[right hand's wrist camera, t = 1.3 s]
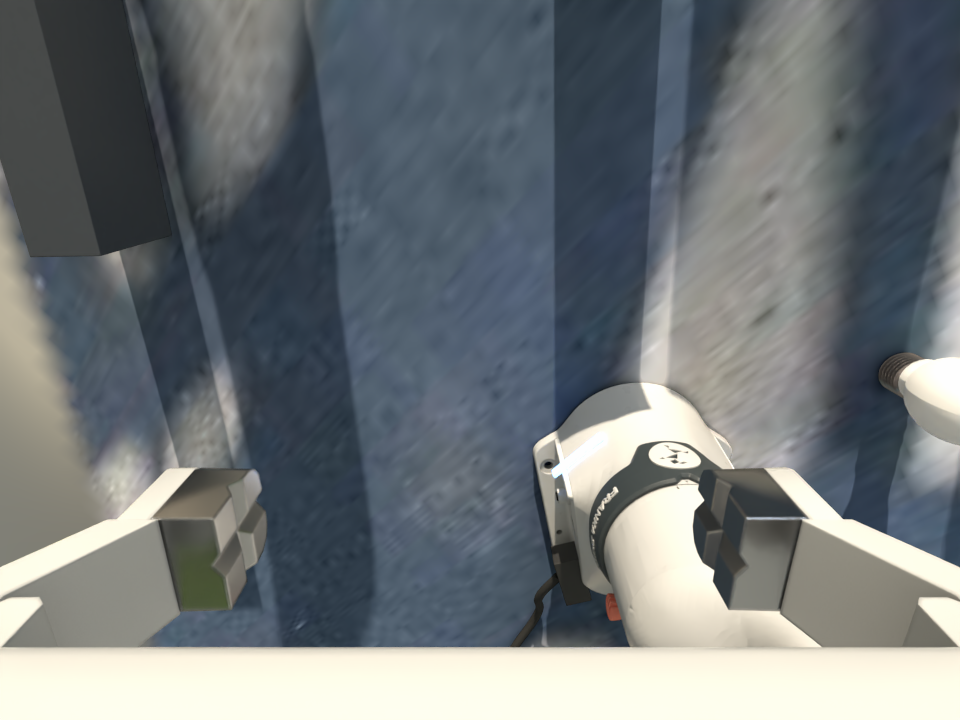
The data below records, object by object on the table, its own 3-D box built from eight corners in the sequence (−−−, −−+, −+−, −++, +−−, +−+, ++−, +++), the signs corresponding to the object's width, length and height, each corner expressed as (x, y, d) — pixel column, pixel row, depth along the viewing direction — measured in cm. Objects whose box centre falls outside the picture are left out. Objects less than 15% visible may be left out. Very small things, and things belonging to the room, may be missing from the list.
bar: (172, 235, 47) (100, 255, 38) (114, 236, 47) (30, 257, 38) (101, -99, 39) (-11, -171, 30) (31, -97, 39) (-101, -169, 30)
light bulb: (854, 400, 52) (946, 463, 42) (878, 332, 50) (982, 381, 39) (925, 405, 52) (1034, 469, 42) (952, 337, 50) (1075, 387, 39)
